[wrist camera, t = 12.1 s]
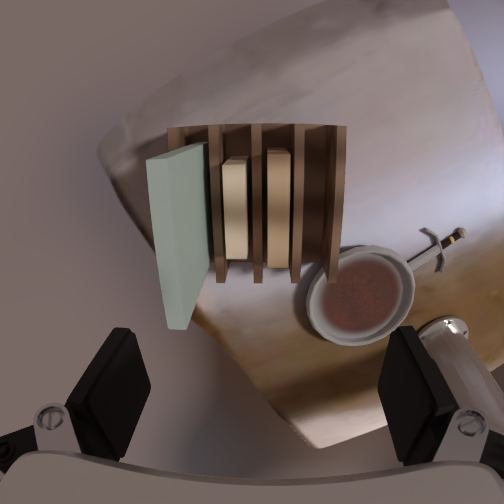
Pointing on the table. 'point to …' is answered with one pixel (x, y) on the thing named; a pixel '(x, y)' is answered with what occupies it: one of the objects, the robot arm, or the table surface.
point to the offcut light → (236, 206)
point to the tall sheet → (181, 226)
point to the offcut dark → (278, 206)
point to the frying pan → (367, 293)
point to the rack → (301, 189)
